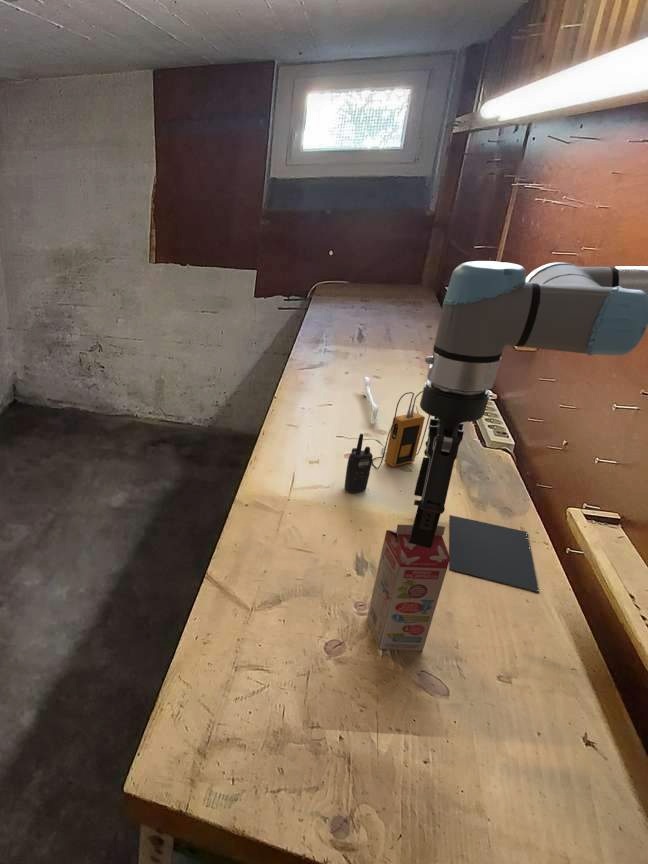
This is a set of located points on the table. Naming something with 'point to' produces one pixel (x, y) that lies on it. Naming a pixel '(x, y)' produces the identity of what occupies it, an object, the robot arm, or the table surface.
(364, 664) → the table surface
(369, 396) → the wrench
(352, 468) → the two-way radio
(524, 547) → the edge mat
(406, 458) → the multimeter
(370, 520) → the table surface
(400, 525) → the juice carton
